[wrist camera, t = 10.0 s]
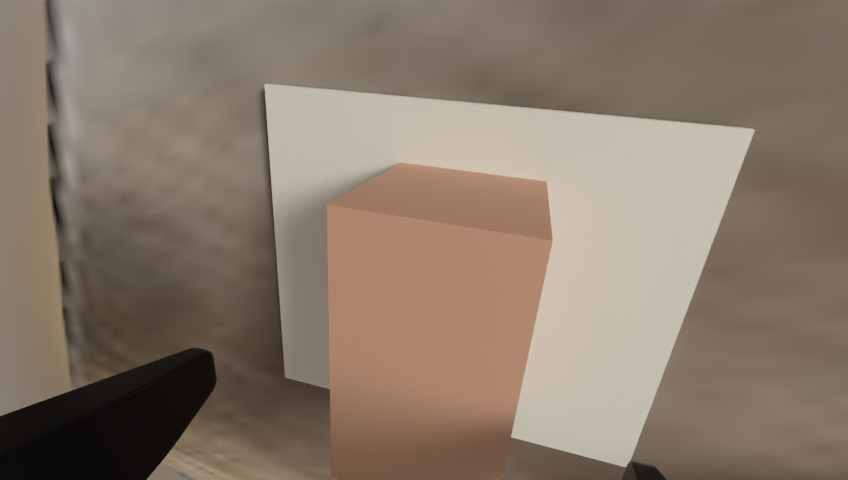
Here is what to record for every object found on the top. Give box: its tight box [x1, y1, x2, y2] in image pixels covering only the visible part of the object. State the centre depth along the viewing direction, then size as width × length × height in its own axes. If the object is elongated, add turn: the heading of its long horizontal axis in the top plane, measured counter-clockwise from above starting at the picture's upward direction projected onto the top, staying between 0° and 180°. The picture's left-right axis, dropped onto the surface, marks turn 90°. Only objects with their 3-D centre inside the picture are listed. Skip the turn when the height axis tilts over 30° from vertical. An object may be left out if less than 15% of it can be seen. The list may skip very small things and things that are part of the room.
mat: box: [264, 84, 755, 467], centre depth 14 cm, size 14×12×1 cm
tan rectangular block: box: [327, 163, 553, 480], centre depth 12 cm, size 8×4×5 cm, turn 176°
